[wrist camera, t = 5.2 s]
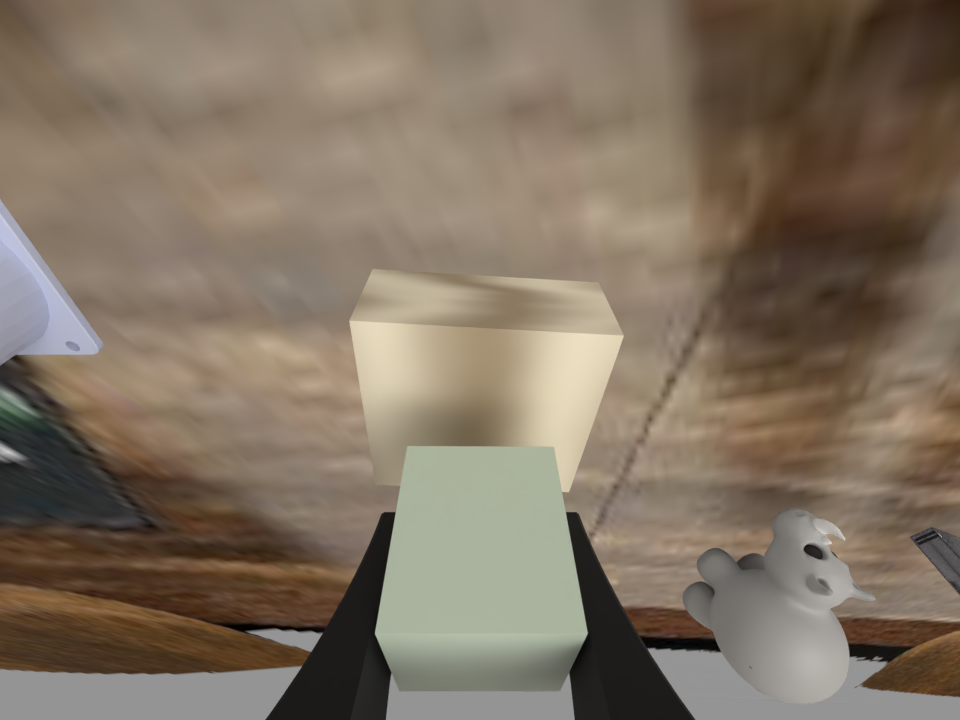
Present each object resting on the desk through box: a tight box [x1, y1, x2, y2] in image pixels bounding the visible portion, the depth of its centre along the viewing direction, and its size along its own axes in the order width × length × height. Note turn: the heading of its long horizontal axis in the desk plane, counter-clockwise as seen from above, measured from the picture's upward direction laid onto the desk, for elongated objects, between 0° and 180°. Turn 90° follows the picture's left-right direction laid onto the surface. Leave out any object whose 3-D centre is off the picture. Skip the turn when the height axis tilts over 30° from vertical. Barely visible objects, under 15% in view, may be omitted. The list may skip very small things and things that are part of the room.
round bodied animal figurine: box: [682, 508, 876, 704], centre depth 26 cm, size 7×12×8 cm, turn 163°
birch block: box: [349, 269, 624, 492], centre depth 18 cm, size 9×9×4 cm
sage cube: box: [375, 446, 588, 691], centre depth 12 cm, size 4×4×5 cm
